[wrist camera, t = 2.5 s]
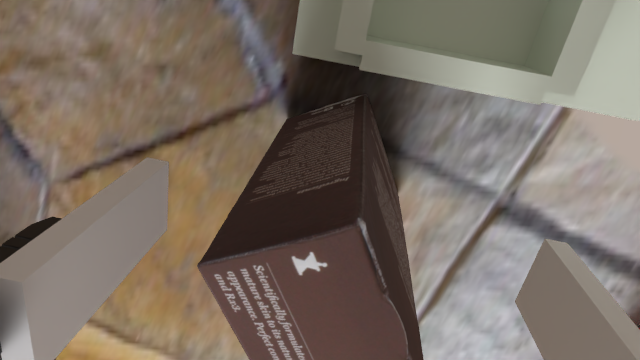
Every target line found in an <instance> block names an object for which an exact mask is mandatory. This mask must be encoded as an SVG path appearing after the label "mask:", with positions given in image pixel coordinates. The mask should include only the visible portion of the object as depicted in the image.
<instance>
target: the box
mask: <svg viewBox="0 0 640 360" xmlns="http://www.w3.org/2000/svg"><path fill="white" fill-rule="evenodd" d="M197 266H198V269H199V271H200V272H201V274H202V276H203V278H204V280H205V281H206V283H207V285H208V287H209V288H210V290H211V292H212V294H213V295H214V297H215V299H216V301H217V302H218V304H219V306H220V308H221V310H222V312H223V314H224V315H225V317H226V319H227V320H228V322H229V324H230V326H231V328H232V330H233V331H234V333H235V334H236V336H237V338H238V340H239V342H240V343H241V345H242V347H243V349H244V351H245V352H246V354H247V356H248V358H249V359H250V360H423V354H422V347H421V339H420V332H419V326H418V322H417V315H416V310H415V303H414V296H413V290H412V282H411V275H410V268H409V261H408V254H407V248H406V242H405V235H404V228H403V222H402V215H401V209H400V204H399V196H398V193H397V189H396V186H395V182H394V178H393V175H392V172H391V168H390V165H389V162H388V159H387V155H386V152H385V149H384V146H383V142H382V139H381V136H380V133H379V129H378V126H377V123H376V120H375V117H374V114H373V110H372V107H371V105H370V102H369V99H368V96H367V95H366V94H364V95H360V96H356V97H350V98H348V99H346V100H343V101H340V102H337V103H334V104H329V105H327V106H325V107H322V108H319V109H316V110H313V111H310V112H307V113H304V114H301V115H298V116H295V117H292V118H289V119H287V120H286V122H285V123H284V125H283V126H282V128H281V129H280V131H279V133H278V134H277V136H276V138H275V139H274V141H273V143H272V144H271V146H270V147H269V149H268V151H267V152H266V154H265V156H264V157H263V159H262V161H261V162H260V164H259V166H258V167H257V169H256V171H255V172H254V174H253V176H252V177H251V179H250V180H249V182H248V184H247V186H246V187H245V189H244V191H243V192H242V194H241V195H240V197H239V198H238V201H237V202H236V204H235V205H234V207H233V208H232V210H231V211H230V213H229V214H228V217H227V219H226V220H225V222H224V223H223V225H222V227H221V228H220V230H219V231H218V233H217V235H216V237H215V238H214V240H213V242H212V243H211V245H210V247H209V249H208V250H207V252H206V253H205V255H204V256H203V258H202V260H201V261H200V262H199V263H198V265H197Z"/></svg>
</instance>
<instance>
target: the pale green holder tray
mask: <svg viewBox="0 0 640 360" xmlns="http://www.w3.org/2000/svg"><path fill="white" fill-rule="evenodd" d="M292 54H296V55H301V56H306V57H311V58H316V59H321V60H326V61H332V62H337V63H342V64H347V65H352V66H357V67H359V70H363V71H368V72H373V73H378V74H384V75H389V76H394V77H399V78H404V79H409V80H414V81H420V82H425V83H430V84H435V85H440V86H445V87H451V88H456V89H461V90H466V91H471V92H476V93H481V94H487V95H492V96H497V97H502V98H507V99H512V100H517V101H523V102H528V103H533V104H538V105H540V104H541V102H543V103H548V104H553V105H558V106H563V107H568V108H574V109H579V110H584V111H589V112H594V113H599V114H605V115H610V116H615V117H620V118H625V119H630V120H635V121H640V0H300V3H299V10H298V17H297V24H296V31H295V38H294V45H293V52H292Z"/></svg>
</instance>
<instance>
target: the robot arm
mask: <svg viewBox="0 0 640 360" xmlns="http://www.w3.org/2000/svg"><path fill="white" fill-rule="evenodd" d="M168 169H169V162H167V161H162V160H157V159H152V158H146V159H144V160H143V161H142V162H140V163H139V164H137V165H136V166H135V167H133V168H132V169H131V170H129V171H128V172H126V173H125V174H124V175H122V176H121V177H119V178H118V179H117V180H115V181H114V182H112V183H111V184H110V185H108V186H107V187H105V188H104V189H103V190H101V191H100V192H99V193H97V194H96V195H94V196H93V197H92V198H90V199H89V200H87V201H86V202H85V203H83V204H82V205H80V206H79V207H78V208H76V209H75V210H73V211H72V212H71V213H69V214H68V215H67V216H65V217H64V218H62V219H61V218H56V217H50V218H48V219H45V220H42V221H39V222H37V223H34V224H31V225H30V226H28V227H27V228H25V229H24V230H23V231H21V232H20V233H18V234H17V235H16V236H15V238H14V237H12V238H11V239H9V240H8V241H6V242H5V243H3V244H2V246H1V247H0V360H54V359H55V358H56V357H57V356H58V355H59V354H60V352H61V351H62V350H63V349H64V348H65V347H66V346H67V344H68V343H69V342H70V341H71V340H72V339H73V337H74V336H75V335H76V334H77V333H78V332H79V331H80V329H81V328H82V327H83V326H84V325H85V324H86V322H87V321H88V320H89V319H90V318H91V317H92V315H93V314H94V313H95V312H96V311H97V310H98V309H99V307H100V306H101V305H102V304H103V303H104V302H105V300H106V299H107V298H108V297H109V296H110V295H111V294H112V292H113V291H114V290H115V289H116V288H117V287H118V285H119V284H120V283H121V282H122V281H123V280H124V279H125V277H126V276H127V275H128V274H129V273H130V272H131V270H132V269H133V268H134V267H135V266H136V265H137V264H138V262H139V261H140V260H141V259H142V258H143V257H144V255H145V254H146V253H147V252H148V251H149V250H150V249H151V247H152V246H153V245H154V244H155V243H156V242H157V240H158V239H159V238H160V237H161V236H162V235H163V234H164V232H165V231H166V230H167V213H168ZM515 303H516V305H517V307H518V309H519V311H520V313H521V315H522V317H523V319H524V321H525V323H526V325H527V327H528V329H529V331H530V333H531V335H532V337H533V339H534V341H535V343H536V345H537V347H538V349H539V351H540V353H541V355H542V357H543V359H544V360H640V329H639V328H638V327H637V326H636V325H635V324H634V322H633V321H632V320H631V319H630V318H629V316H628V315H627V314H626V313H625V312H624V310H623V309H622V308H621V307H620V306H619V304H618V303H617V302H616V301H615V300H614V298H613V297H612V296H611V295H610V294H609V292H608V291H607V290H606V289H605V288H604V286H603V285H602V284H601V283H600V282H599V280H598V279H597V278H596V277H595V276H594V274H593V273H592V272H591V271H590V270H589V268H588V267H587V266H586V265H585V264H584V262H583V261H582V260H581V259H580V258H579V256H578V255H577V254H576V253H575V252H574V250H573V249H572V248H571V247H570V246H569V245H568V243H564V242H559V241H554V240H549V239H545V240H544V242H543V244H542V246H541V248H540V250H539V252H538V254H537V256H536V258H535V261H534V263H533V265H532V267H531V269H530V271H529V273H528V275H527V277H526V279H525V281H524V284H523V286H522V288H521V290H520V292H519V294H518V296H517V298H516V300H515Z"/></svg>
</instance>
